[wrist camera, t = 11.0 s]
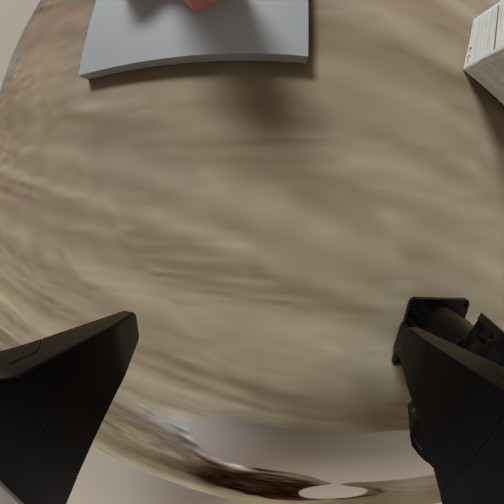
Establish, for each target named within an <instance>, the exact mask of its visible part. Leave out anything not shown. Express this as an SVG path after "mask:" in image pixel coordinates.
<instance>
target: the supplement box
mask: <svg viewBox="0 0 504 504" xmlns="http://www.w3.org/2000/svg"><path fill="white" fill-rule="evenodd" d="M464 71H465V72H467V73H468V74H469V75H470V76H472V77H473V78H474V79H475V80H476V81H478V82H479V83H480V84H481V85H482V86H483V87H485V88H486V89H487V90H488V91H489V92H490V93H491V94H492V95H493V96H495V97H496V98H497V99H498V100H499V101H500V102H501V103H502V104H503V105H504V0H501V1H500V2H498V3H497V4H495V5H494V6H493V7H491V8H490V9H488V10H487V11H485V12H484V13H482V14H481V15H479V16H478V17H477V18H475V19H474V20H473V25H472V30H471V36H470V41H469V46H468V50H467V55H466V59H465V64H464Z"/></svg>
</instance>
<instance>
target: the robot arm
mask: <svg viewBox="0 0 504 504" xmlns="http://www.w3.org/2000/svg"><path fill="white" fill-rule="evenodd" d="M414 302H416V304H415V305H413V303H414ZM464 303H465V304H464ZM463 304H464V306H463ZM468 307H469V301H468V300H467V299H465V298H434V297H413V298H411V299H410V300H409V302H408V306H407V310H406V314H405V318H404V321H403V322H402V323H401V326H400V330H399V333H398V337H397V340H396V343H395V347H394V348H395V351H394V354H393V357H392V362H393V364H394V365H402V367H403V371H404V375H405V379H406V383H407V386H408V390H409V393H410V396H411V399H412V401H411V402H410V403H409V404H408V414H409V426H410V438H411V443H412V446H413V448H414V449H415V450H416V452H417V453H418V454H419V455H420V456H421V457H422V458H423V459H424V460H425V461H426V462H428V463H430V465H431V466H432V467H433V468H434V471H435V475H436V479H437V483H438V487H439V491H440V496H441V500H442V504H504V331H503V330H502V329H501V328H499V327H498V326H497V325H496V324H495V323H494V322H492V321H491V320H490V319H489V318H487V317H486V316H485V315H484V314H483V313H481V314H480V316H479V317H478V321H477V322H476V324H475V325H474V326H473V325H472V324H471V323H470V322H469V321H468V320H467V319H466V318H465V316H466V313H467V310H468ZM138 339H139V333H138V326H137V319H136V315H135V314H134V313H133V312H128V311H122V312H119V313H116V314H113V315H110V316H107V317H105V318H102V319H99V320H96V321H93V322H90V323H87V324H84V325H81V326H78V327H75V328H73V329H70V330H67V331H64V332H61V333H58V334H55V335H52V336H49V337H46V338H43V339H40V340H37V341H34V342H31V343H28V344H24V345H21V346H18V347H14V348H10V349H7V350H3V351H0V504H66V503H67V500H68V498H69V495H70V493H71V491H72V488H73V486H74V483H75V481H76V479H77V477H76V476H78V473H79V471H80V469H81V467H82V464H83V462H84V460H85V458H86V455H87V453H88V451H89V449H90V447H91V444H92V442H93V440H94V438H95V436H96V434H97V431H98V429H99V427H100V425H101V423H102V421H103V419H104V417H105V415H106V413H107V411H108V408H109V406H110V404H111V402H112V400H113V398H114V396H115V394H116V392H117V390H118V388H119V386H120V384H121V382H122V380H123V378H124V376H125V374H126V371H127V369H128V366H129V363H130V361H131V358H132V355H133V353H134V350H135V347H136V345H137V342H138ZM397 359H399V360H397ZM396 360H397V361H396Z"/></svg>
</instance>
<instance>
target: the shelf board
mask: <svg viewBox="0 0 504 504" xmlns="http://www.w3.org/2000/svg"><path fill="white" fill-rule="evenodd" d="M307 60H308V0H218V1H216V2H215V3H213V4H211V5H210V6H208V7H206V8H205V9H203V10H201V11H200V12H198V13H197V14H196V13H195V12H194V11H193V10H192V9H191V8H190V7H189V6H188V5H187V4H186V3H185V2H184V1H183V0H96V3H95V7H94V10H93V13H92V17H91V20H90V24H89V28H88V32H87V36H86V40H85V44H84V49H83V54H82V59H81V64H80V69H79V75H78V76H81V77H83V78H86V79H92V78H96V77H100V76H105V75H109V74H114V73H119V72H125V71H130V70H136V69H142V68H149V67H156V66H164V65H173V64H183V63H195V62H211V61H275V62H291V63H303V64H307Z"/></svg>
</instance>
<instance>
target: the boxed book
mask: <svg viewBox="0 0 504 504" xmlns="http://www.w3.org/2000/svg"><path fill="white" fill-rule="evenodd" d="M183 1H184V2H185V3H186V4H187V5H188V6H189V7H190V8H191V9H192V10H193V11H194V12H195V13H196V14H197V13H198V12H200V11H201V10H203V9H205V8H206V7H208V6H210V5H211V4H213V3H215V2H216V1H218V0H183Z"/></svg>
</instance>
